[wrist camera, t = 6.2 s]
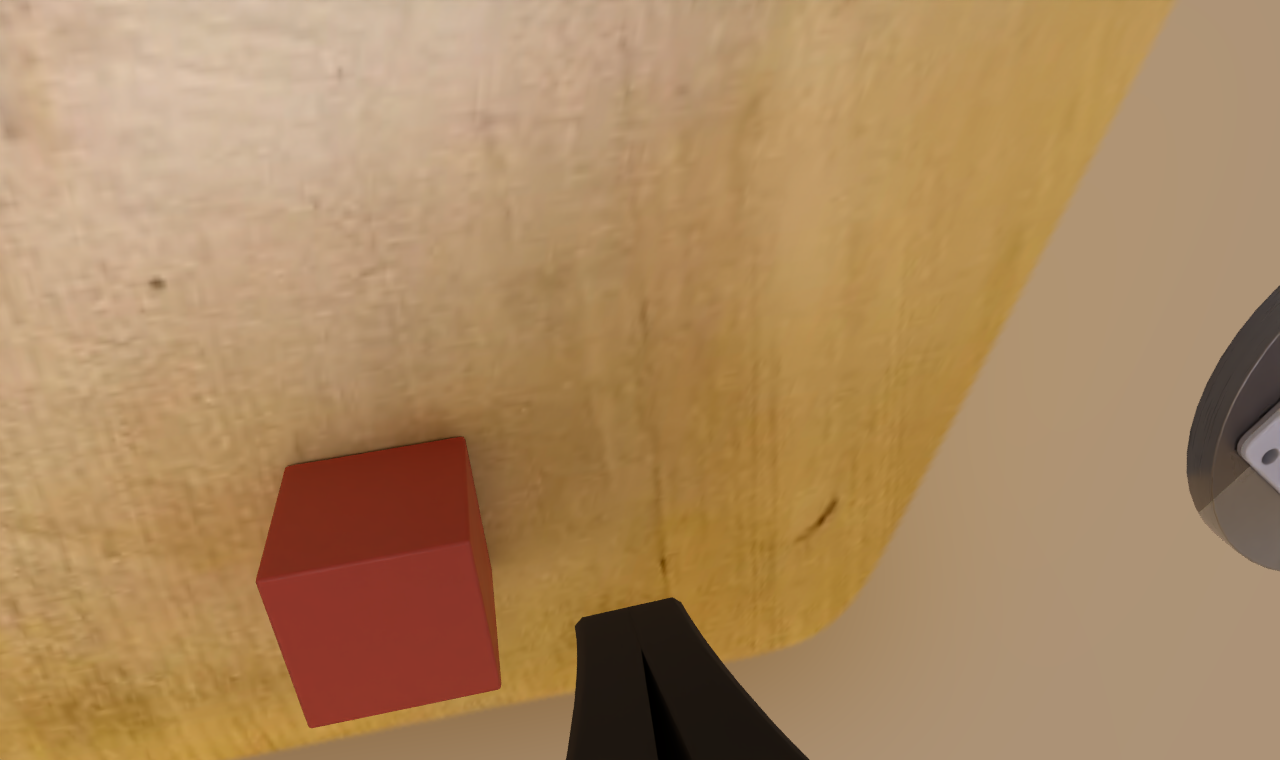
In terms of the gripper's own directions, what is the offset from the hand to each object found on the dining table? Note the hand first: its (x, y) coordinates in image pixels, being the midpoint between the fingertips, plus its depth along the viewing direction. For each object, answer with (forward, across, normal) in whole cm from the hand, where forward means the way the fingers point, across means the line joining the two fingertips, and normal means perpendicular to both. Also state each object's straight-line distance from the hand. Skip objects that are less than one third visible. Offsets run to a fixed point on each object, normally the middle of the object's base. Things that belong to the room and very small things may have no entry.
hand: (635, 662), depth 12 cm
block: (+10, +4, +4) cm, 11 cm away
